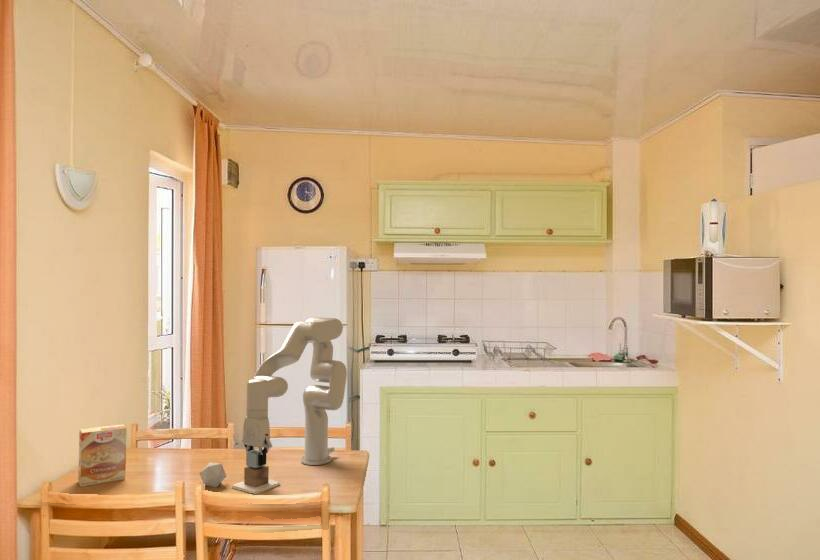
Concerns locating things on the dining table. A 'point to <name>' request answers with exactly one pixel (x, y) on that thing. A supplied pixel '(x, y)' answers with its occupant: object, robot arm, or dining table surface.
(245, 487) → the plate
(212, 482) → the die
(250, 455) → the blue block
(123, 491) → the dining table surface
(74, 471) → the dining table surface
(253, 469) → the walnut block
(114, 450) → the coffeecake box
